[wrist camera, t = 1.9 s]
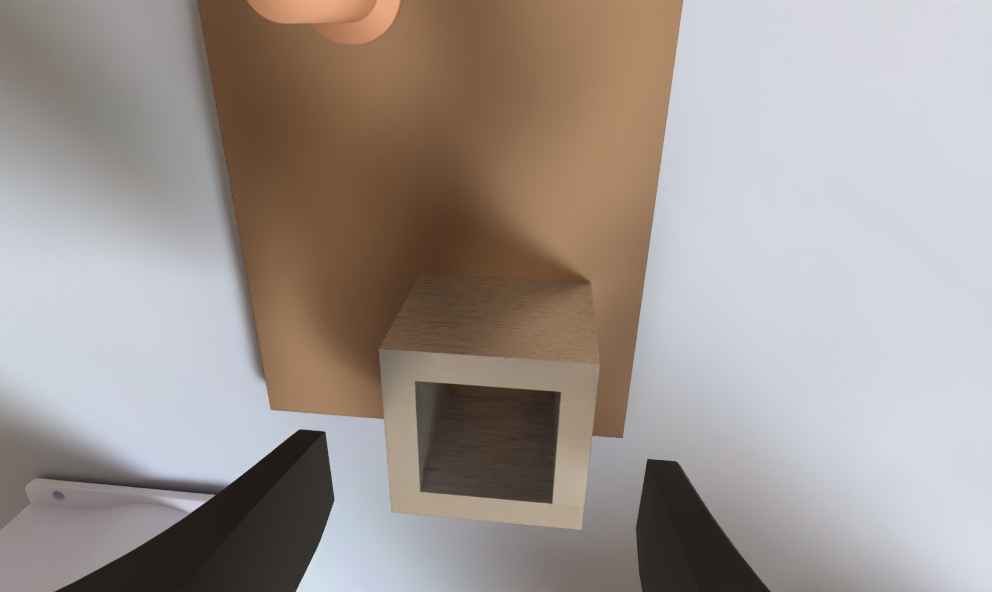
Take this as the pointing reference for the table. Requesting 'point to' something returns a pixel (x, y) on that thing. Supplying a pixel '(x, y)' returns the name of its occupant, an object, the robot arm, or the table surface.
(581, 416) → the collar
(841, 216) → the table surface
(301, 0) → the post
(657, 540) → the robot arm
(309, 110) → the board
